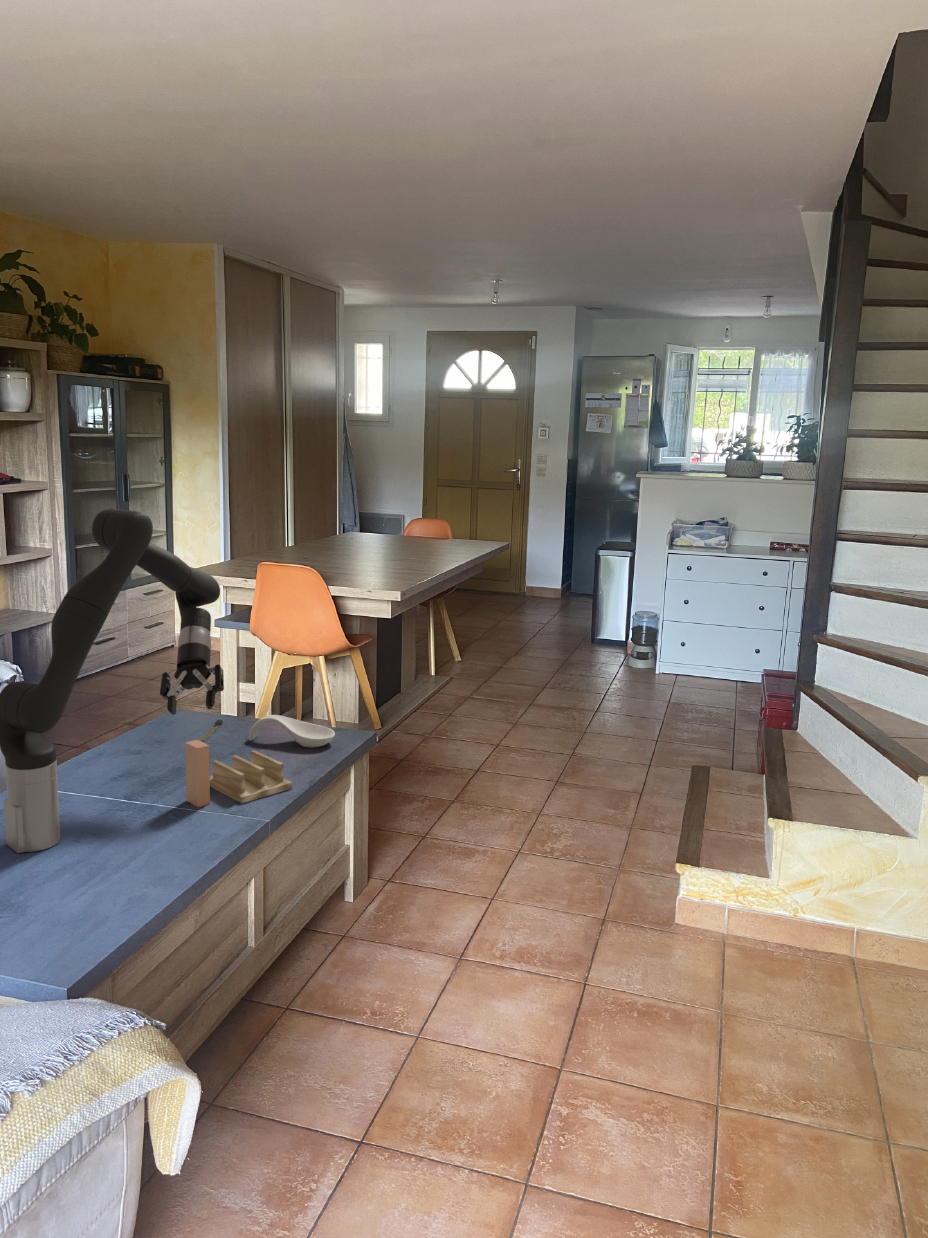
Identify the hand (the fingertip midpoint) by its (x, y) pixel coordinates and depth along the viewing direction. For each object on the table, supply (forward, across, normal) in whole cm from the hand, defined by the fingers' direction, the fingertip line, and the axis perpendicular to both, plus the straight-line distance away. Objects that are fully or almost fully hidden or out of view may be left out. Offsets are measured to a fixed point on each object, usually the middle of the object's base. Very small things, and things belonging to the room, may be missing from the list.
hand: (190, 710), depth 206 cm
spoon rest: (-10, +11, +45) cm, 48 cm away
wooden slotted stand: (+11, +7, +21) cm, 25 cm away
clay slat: (+18, -2, +11) cm, 21 cm away
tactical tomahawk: (-16, -11, +45) cm, 49 cm away
